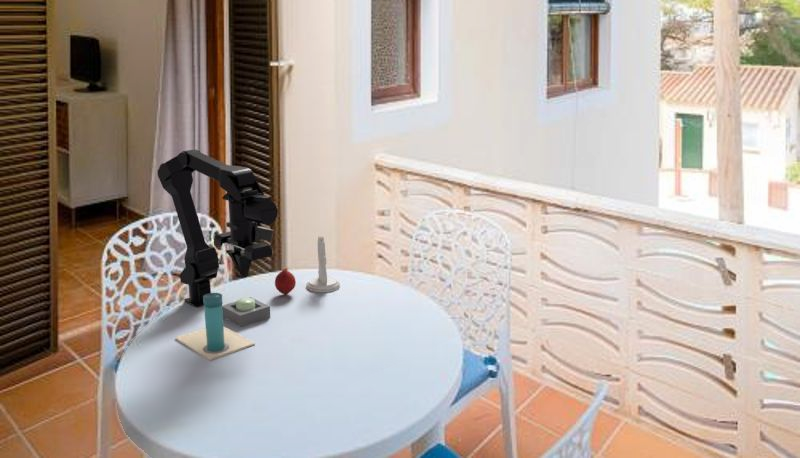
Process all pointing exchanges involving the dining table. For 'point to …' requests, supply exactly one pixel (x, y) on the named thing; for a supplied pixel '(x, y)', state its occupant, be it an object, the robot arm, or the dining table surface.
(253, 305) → the button
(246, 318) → the button housing
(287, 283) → the onion
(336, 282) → the paper towel holder
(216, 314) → the ball
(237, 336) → the sheet
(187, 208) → the robot arm
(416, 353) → the dining table surface
